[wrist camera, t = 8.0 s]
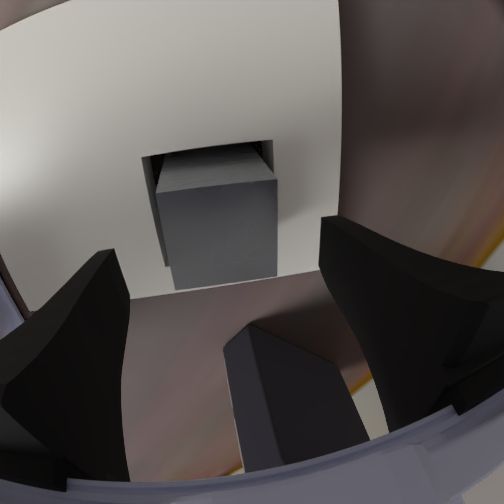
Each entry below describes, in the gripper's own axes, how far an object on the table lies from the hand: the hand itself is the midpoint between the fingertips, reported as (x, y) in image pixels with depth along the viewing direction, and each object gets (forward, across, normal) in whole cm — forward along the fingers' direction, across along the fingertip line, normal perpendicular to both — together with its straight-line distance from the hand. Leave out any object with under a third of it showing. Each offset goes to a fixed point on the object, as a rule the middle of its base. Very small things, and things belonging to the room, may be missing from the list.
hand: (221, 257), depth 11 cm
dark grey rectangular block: (+7, -4, +15) cm, 17 cm away
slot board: (+7, +3, -3) cm, 8 cm away
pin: (+7, 0, 0) cm, 7 cm away
